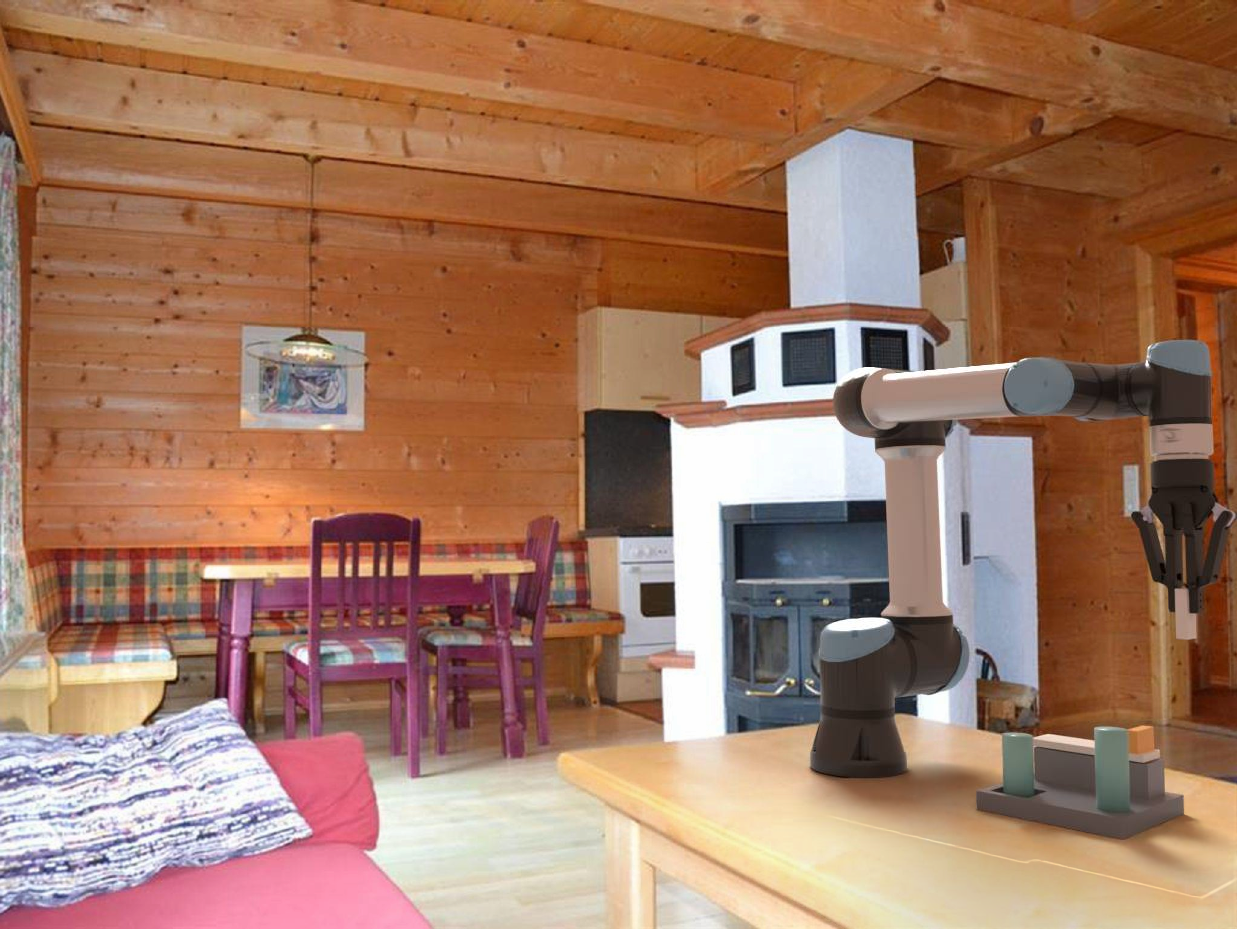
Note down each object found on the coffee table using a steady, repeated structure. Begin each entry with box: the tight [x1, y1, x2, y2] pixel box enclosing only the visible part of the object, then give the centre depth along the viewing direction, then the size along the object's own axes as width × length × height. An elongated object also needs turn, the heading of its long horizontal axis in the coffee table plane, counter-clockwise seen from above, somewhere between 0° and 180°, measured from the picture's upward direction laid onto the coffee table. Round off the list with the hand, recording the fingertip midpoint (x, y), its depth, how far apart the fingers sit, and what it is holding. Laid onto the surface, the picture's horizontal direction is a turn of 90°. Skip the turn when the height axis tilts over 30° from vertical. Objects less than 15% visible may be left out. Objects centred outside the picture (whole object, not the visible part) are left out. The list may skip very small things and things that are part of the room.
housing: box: [975, 726, 1185, 840], centre depth 154 cm, size 20×18×12 cm
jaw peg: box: [1001, 732, 1034, 798], centre depth 155 cm, size 4×4×10 cm
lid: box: [1033, 725, 1161, 763], centre depth 158 cm, size 16×5×4 cm, turn 42°
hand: (1186, 638), depth 149 cm, fingers closed
